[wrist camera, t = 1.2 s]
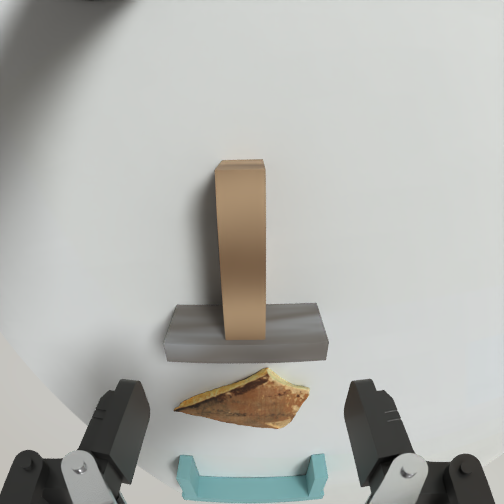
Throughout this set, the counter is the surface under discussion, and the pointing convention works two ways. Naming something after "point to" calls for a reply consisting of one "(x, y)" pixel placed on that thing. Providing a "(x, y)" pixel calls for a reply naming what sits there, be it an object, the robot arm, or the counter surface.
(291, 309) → the hammer
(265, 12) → the counter surface
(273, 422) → the shard
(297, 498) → the u-shaped bracket
